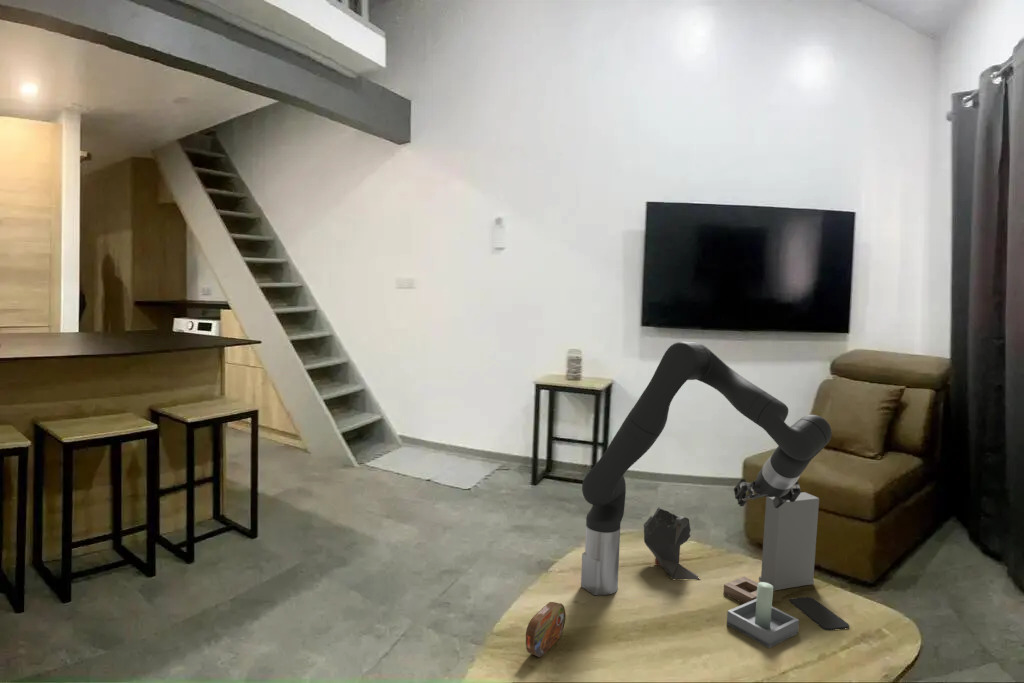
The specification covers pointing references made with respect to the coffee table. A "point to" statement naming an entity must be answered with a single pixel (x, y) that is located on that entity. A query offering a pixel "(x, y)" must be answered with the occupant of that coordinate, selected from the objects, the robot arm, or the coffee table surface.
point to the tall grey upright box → (790, 542)
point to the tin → (545, 628)
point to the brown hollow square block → (741, 589)
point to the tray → (745, 623)
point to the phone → (818, 613)
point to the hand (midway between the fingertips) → (757, 503)
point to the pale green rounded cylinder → (764, 605)
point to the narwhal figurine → (668, 541)
